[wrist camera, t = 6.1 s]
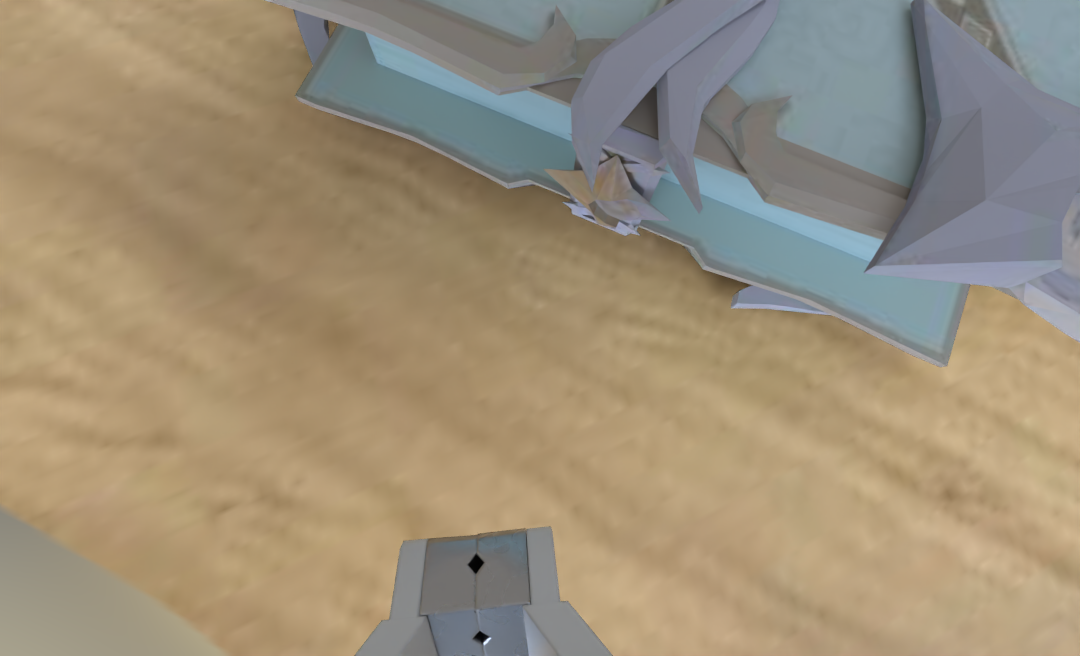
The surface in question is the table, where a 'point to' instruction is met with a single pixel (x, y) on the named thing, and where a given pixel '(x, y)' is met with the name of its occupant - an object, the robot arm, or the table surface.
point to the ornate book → (757, 135)
